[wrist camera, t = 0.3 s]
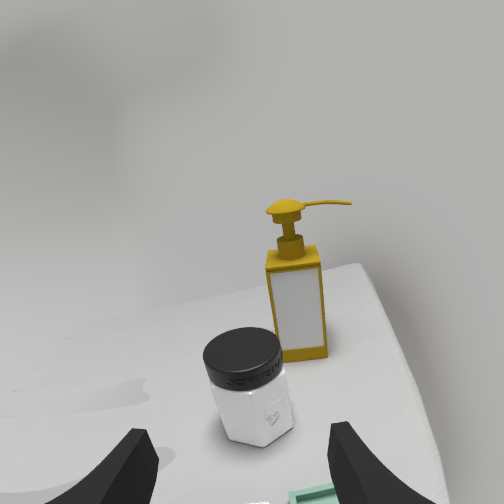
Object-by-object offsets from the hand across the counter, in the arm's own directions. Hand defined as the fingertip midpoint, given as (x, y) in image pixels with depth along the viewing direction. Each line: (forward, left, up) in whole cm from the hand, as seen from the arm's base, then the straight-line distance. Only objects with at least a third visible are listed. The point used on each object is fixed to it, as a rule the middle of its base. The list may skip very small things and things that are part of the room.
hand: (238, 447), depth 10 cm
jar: (+19, +1, -21) cm, 28 cm away
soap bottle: (+33, -10, -21) cm, 40 cm away
